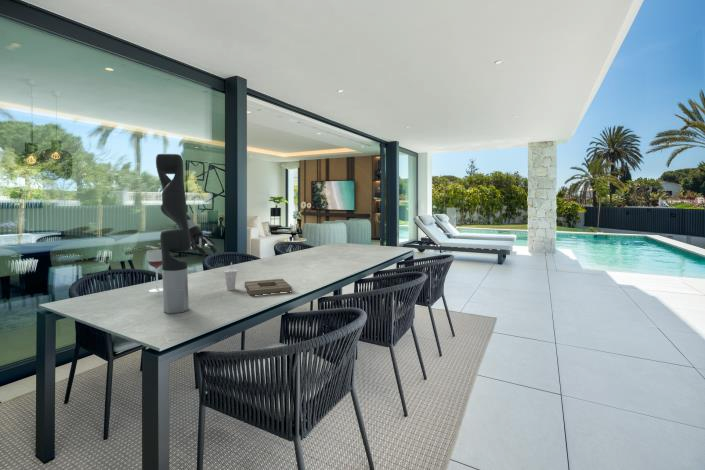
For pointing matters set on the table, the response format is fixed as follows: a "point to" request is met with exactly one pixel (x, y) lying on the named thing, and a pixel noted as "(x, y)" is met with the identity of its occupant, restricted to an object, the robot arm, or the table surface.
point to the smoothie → (230, 278)
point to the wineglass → (155, 264)
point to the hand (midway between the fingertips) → (210, 253)
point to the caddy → (267, 287)
